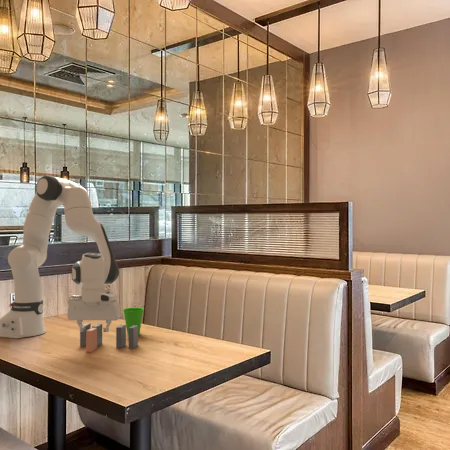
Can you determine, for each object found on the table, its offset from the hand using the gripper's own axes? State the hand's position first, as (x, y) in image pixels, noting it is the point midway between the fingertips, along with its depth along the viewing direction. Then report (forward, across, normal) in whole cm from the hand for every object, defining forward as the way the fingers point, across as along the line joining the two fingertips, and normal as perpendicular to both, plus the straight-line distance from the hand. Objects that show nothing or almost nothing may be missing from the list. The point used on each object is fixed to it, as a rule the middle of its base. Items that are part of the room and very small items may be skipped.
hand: (94, 331), depth 174 cm
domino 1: (+7, -7, +6) cm, 12 cm away
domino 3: (+7, -2, +6) cm, 10 cm away
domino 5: (+7, +13, +6) cm, 16 cm away
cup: (+7, +7, +25) cm, 27 cm away
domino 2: (+7, -1, -1) cm, 7 cm away
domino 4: (+7, +8, +6) cm, 13 cm away
